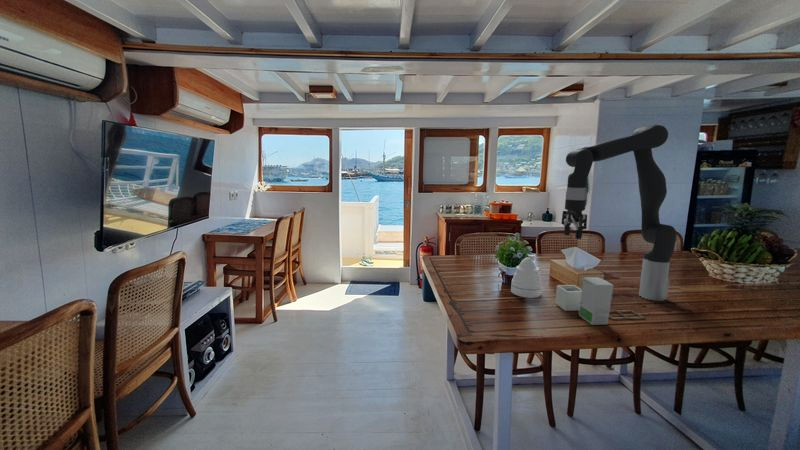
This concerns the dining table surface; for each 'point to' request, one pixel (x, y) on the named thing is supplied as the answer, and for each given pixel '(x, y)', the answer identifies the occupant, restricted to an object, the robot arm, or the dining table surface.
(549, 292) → the dining table surface
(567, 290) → the ball slate
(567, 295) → the open square cup
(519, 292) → the honey pot
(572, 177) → the robot arm
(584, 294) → the skincare box
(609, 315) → the rack
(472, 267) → the dining table surface
